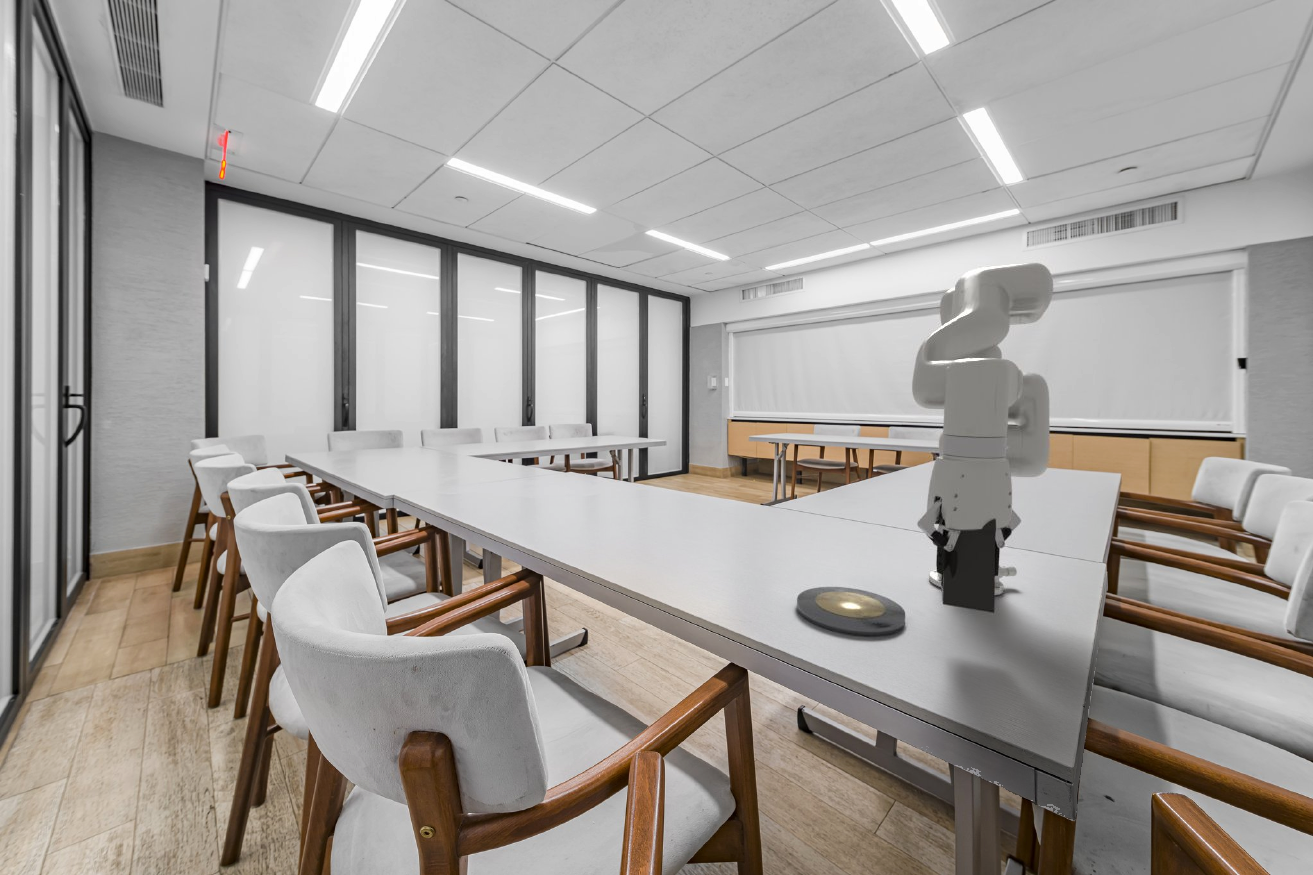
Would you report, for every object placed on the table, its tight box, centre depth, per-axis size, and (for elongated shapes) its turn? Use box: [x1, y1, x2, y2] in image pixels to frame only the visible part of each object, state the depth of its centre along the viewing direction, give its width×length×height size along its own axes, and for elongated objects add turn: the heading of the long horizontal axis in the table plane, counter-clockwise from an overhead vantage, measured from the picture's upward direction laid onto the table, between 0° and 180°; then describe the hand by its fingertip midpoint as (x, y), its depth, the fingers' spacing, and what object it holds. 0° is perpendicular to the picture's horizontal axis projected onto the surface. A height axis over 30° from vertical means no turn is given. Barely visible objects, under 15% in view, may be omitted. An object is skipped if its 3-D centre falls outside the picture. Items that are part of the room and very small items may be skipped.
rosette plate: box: [796, 586, 906, 637], centre depth 86 cm, size 17×17×2 cm
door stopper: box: [940, 519, 996, 614], centre depth 72 cm, size 9×6×12 cm, turn 152°
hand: (966, 573), depth 72 cm, fingers closed on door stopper, 5 cm apart
